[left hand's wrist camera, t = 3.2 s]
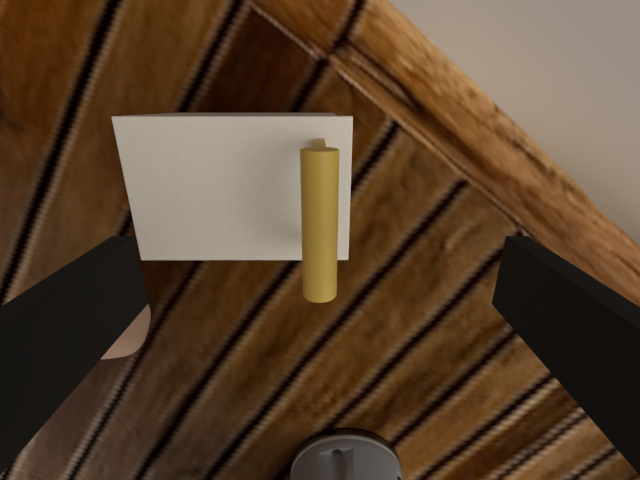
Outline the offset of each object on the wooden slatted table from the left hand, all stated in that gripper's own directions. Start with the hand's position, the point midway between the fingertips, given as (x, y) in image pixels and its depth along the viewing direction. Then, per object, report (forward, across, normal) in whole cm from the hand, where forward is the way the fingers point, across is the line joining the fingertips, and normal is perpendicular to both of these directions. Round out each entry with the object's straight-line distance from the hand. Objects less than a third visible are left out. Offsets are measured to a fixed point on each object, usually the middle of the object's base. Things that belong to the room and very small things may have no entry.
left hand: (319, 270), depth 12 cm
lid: (+12, +6, 0) cm, 14 cm away
